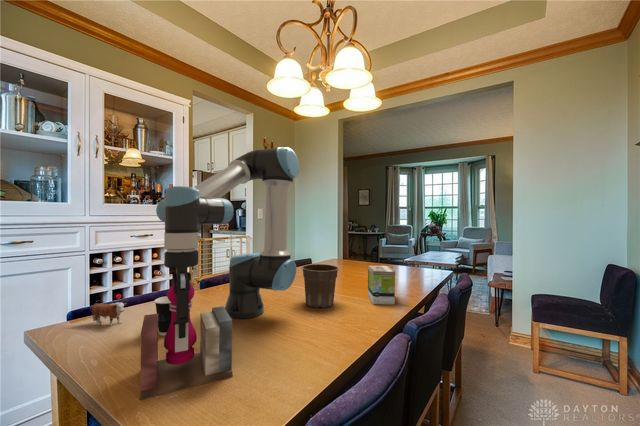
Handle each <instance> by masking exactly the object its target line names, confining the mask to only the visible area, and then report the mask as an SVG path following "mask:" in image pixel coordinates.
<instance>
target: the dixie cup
mask: <svg viewBox="0 0 640 426" xmlns="http://www.w3.org/2000/svg"><path fill="white" fill-rule="evenodd" d="M154 303H155V311H156V313H155V314H157V313H158V333H159V335H160V336H164V337H165V335H166V333H167V331H168V329H169V327H170V324H171V318H172V313H171V311H170V304H171V302H170V301H169V300H168V297H167V296H161V297H158V298H156V299H154Z"/></svg>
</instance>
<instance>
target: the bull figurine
mask: <svg viewBox="0 0 640 426" xmlns="http://www.w3.org/2000/svg"><path fill="white" fill-rule="evenodd" d="M127 304H128V303H127V302H124V303H123V302H118V301H117V302H115V303H94V304H93V305H92V306H91V318H92V320H93V322H95V321H96V325H97V326H98V327H100V326H101V325H102V323H103V321H102V319H101V318H102V317H103V318H104V319H107V318H108V317H109V323H108V325H109V326H110V327H112V326H114V325H113V320H115V319H116V321H117V324H118V325H122V321H121V319H120V318H121V317H120V316H121V314H122V313H123V312H125V309H124V308H125V307H124V306H126V305H127Z"/></svg>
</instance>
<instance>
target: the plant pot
mask: <svg viewBox="0 0 640 426" xmlns="http://www.w3.org/2000/svg"><path fill="white" fill-rule="evenodd" d="M301 269H302V275H303V276H302V277H303V278H304V280H303V281H304V295H305V304H306V306H308V307H311V308H316V309H317V308H318V309H319V308H320V307H321V308H322V309H324V308H330V307H332V306H333V305H334V303H335V302H334V300H335V299H334V298H335V291H336V290H335V289H336V283H337V282H336V281H337V278H338V272H339V270H340V268H339V266H336V265H333V264H324V263H321V264H320V263H316V264H314V263H312V264H305V265H302V266H301Z"/></svg>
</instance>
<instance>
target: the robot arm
mask: <svg viewBox="0 0 640 426" xmlns="http://www.w3.org/2000/svg"><path fill="white" fill-rule="evenodd" d="M299 173H300V163H299V160H298V156H297V155H296V153H295V151H294V150H293V149H292V148H290V147H281V146H278V147H273V148H263V149H254V150H251V151H249V152H247V153H244V154H242V155H241V156H238V157H237V158H235V159H233V160H232V161H230V162H229V163H228V166H226V167H225V168H223V169H221V170H220V171H218V172H216V173H215V174H213V175H212V176H210V177H207V178H206V179H205V180H202V181H201V182H199V183H198V184H196V185H194V186H193V187H192V186H178V185H176V186H169V187H167V188H166V190H165V197H164V198H162V199H161V200H160V201H158V203H157V205H156V209H155V211H156V216H157V217H158V219H159V220H160V221H161V222H163V223H164V235H163V236H164V238H163V239H164V241H163V242H164V243H163V245H164V246H163V249H165V250H166V251H164V254H163V255H164V257H163V259H164V260H163V263H164V264H163V265H164V267H165V268H168V269H175V270H174V273H172V274H171V275H172V276H171V277H172V283H173V284H172V285H174V293H175V294H176V322H173V325H175V352H180V351H185V350H188V322H189V291H190V284H191V280H192V274H191V272H190V271H188V268H193V267H197V266H198V264H199V250H197V249H198V248H199V240H201V239H202V236H201V235H199V229H200V226H202V225H203V226H206V225H207V226H210V225H211V226H213V225H217V226H220V225H225V224H227V223H229V222H230V221H232V219H233V217H234V206H233V204H232V202H231V201H230V200H228V199H226V198H222V197H223V196H225V195H226V194H228V193H229V192H230V191H232V190H233V189H235V188H236V187H237V186H239V185H241V184H247V183H249V181H253V180H262V184H263V185H264V186H265V188H266V189H265V190H266V191H265V213H264V215H265V216H264V237H263V238H264V245H263V250H262V251H261V252H260V253H259V252H253V253H252V252H251V253H243V254H237V255H233V256H232V257H231V258H230V260H229V266H228V270H229V271H228V273H229V274H228V276H229V277H228V278H229V281H228V282H229V283H228V284H229V285H228V288H229V293H228V297H227V300H226V302H225V303H226V304H225V306H224V308H225V310H226V311H227V313H228V314H229V316H230V317H231V319H237V320H238V319H240V320H244V319H252V318H255V317H258V316H261V315H262V314H263V313H264V312H265V307H264V302H263V301H264V300H263V298H262V295H261V291H260V289H264V290H270V291H275V292H277V291H281V292H283V291H286V290H288V289H289V288H291V286H292V285H293V283H294V281H295V278H296V276H297V275H296V274H297V264H296V262H295V260H294V259H291V253H290V252H289V251H288V227H289V226H288V225H289V224H288V223H289V222H288V221H289V193H290V192H289V189H290V187H291V186H292V185H293V184H294V182H293V181H294V179H295V178H297V177H298V176H299ZM176 284H177V289H176Z"/></svg>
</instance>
